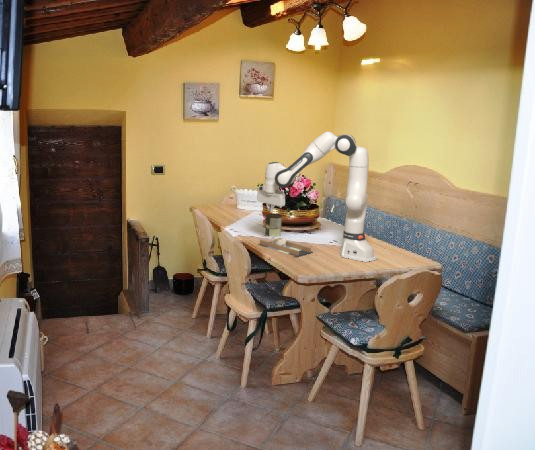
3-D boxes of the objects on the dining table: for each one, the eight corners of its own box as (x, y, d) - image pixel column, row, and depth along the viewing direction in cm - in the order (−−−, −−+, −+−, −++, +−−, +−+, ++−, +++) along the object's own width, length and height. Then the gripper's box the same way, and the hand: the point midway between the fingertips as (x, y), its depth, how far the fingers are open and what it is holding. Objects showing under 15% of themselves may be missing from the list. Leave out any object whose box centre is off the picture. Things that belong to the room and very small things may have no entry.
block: (285, 246, 327) (286, 239, 326) (279, 248, 322) (279, 240, 321) (278, 244, 330) (278, 237, 329) (271, 245, 326) (272, 238, 325)
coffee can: (262, 235, 353) (263, 214, 350) (270, 233, 362) (271, 212, 358) (275, 238, 348) (277, 217, 345) (283, 235, 356) (284, 215, 353)
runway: (312, 253, 319) (313, 247, 318) (295, 257, 308) (295, 251, 307) (275, 242, 339) (275, 236, 338) (257, 246, 327) (257, 240, 326)
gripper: (288, 191, 320) (286, 213, 323) (263, 185, 333) (261, 207, 336) (281, 191, 315) (279, 215, 318) (256, 186, 329) (254, 208, 332)
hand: (270, 211), depth 327 cm, fingers closed
